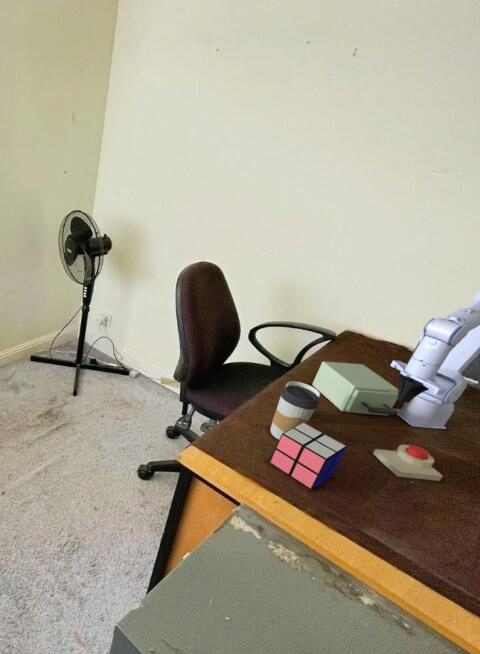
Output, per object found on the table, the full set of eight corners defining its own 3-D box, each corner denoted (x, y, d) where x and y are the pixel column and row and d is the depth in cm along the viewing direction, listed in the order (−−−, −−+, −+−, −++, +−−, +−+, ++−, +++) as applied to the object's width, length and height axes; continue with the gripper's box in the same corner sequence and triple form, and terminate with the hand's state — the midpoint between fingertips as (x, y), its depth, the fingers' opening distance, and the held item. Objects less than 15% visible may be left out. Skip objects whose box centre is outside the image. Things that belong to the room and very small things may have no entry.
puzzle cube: (311, 490, 100) (327, 459, 96) (268, 462, 108) (281, 433, 104) (332, 476, 104) (348, 446, 100) (289, 450, 112) (302, 421, 108)
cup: (313, 426, 121) (326, 399, 117) (283, 422, 123) (295, 395, 119) (299, 409, 129) (310, 383, 125) (270, 405, 130) (281, 379, 126)
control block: (412, 455, 111) (419, 446, 110) (443, 481, 104) (450, 471, 102) (370, 451, 113) (375, 441, 111) (397, 476, 105) (403, 466, 103)
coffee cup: (294, 429, 120) (313, 387, 114) (305, 449, 113) (326, 405, 106) (261, 423, 122) (278, 381, 116) (270, 441, 115) (289, 398, 109)
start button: (417, 450, 109) (420, 445, 108) (429, 460, 106) (432, 455, 105) (402, 449, 109) (405, 444, 109) (414, 459, 106) (417, 454, 105)
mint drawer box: (385, 415, 127) (399, 390, 123) (342, 411, 128) (354, 386, 124) (351, 388, 140) (362, 364, 136) (312, 384, 142) (322, 361, 138)
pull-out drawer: (399, 424, 122) (412, 403, 119) (358, 421, 123) (369, 400, 120) (355, 389, 138) (365, 370, 135) (319, 386, 139) (328, 367, 136)
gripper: (389, 346, 119) (368, 384, 124) (435, 373, 105) (409, 415, 111) (415, 348, 118) (392, 387, 123) (465, 376, 105) (437, 418, 110)
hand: (402, 401), depth 117 cm, fingers closed
